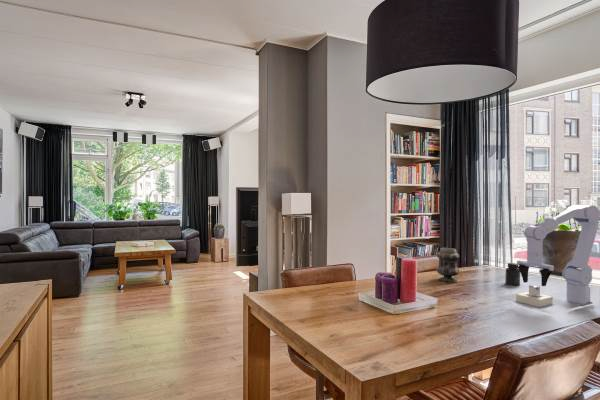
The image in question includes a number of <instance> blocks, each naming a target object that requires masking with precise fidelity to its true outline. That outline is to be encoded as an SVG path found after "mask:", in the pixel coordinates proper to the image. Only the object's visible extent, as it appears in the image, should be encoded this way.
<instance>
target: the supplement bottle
mask: <svg viewBox="0 0 600 400" xmlns="http://www.w3.org/2000/svg"><path fill="white" fill-rule="evenodd" d="M518 266H519V265H517V262H516V263H515V262H509V263H508V262H507V268H505V272H504V273H505V275H504V279H505V281H504V283H505V285H507V286H512V287H519V286H521V273H520V271H519V269H518Z"/></svg>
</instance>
